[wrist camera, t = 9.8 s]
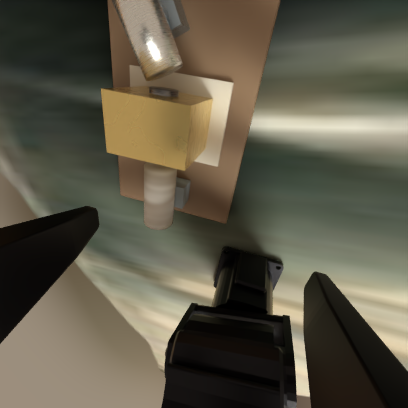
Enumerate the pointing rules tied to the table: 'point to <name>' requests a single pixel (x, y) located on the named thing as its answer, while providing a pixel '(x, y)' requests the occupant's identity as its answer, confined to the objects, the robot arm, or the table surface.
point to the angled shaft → (153, 33)
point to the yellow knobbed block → (156, 124)
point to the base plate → (206, 87)
